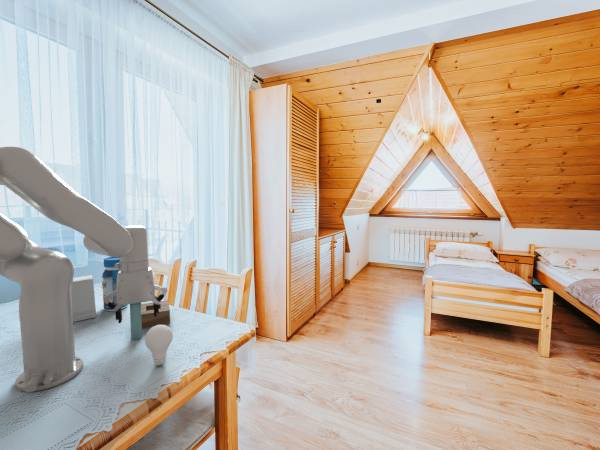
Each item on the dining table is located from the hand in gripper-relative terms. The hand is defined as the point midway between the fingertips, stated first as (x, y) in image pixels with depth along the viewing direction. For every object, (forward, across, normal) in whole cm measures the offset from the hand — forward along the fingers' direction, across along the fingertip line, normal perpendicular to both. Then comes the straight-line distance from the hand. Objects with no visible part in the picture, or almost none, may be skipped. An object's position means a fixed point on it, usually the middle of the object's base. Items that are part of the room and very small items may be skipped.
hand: (138, 318), depth 89 cm
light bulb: (+6, +5, -20) cm, 21 cm away
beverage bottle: (+7, -9, +30) cm, 31 cm away
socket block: (+6, +4, +10) cm, 13 cm away
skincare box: (+6, -19, +24) cm, 31 cm away
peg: (+6, -1, 0) cm, 6 cm away
